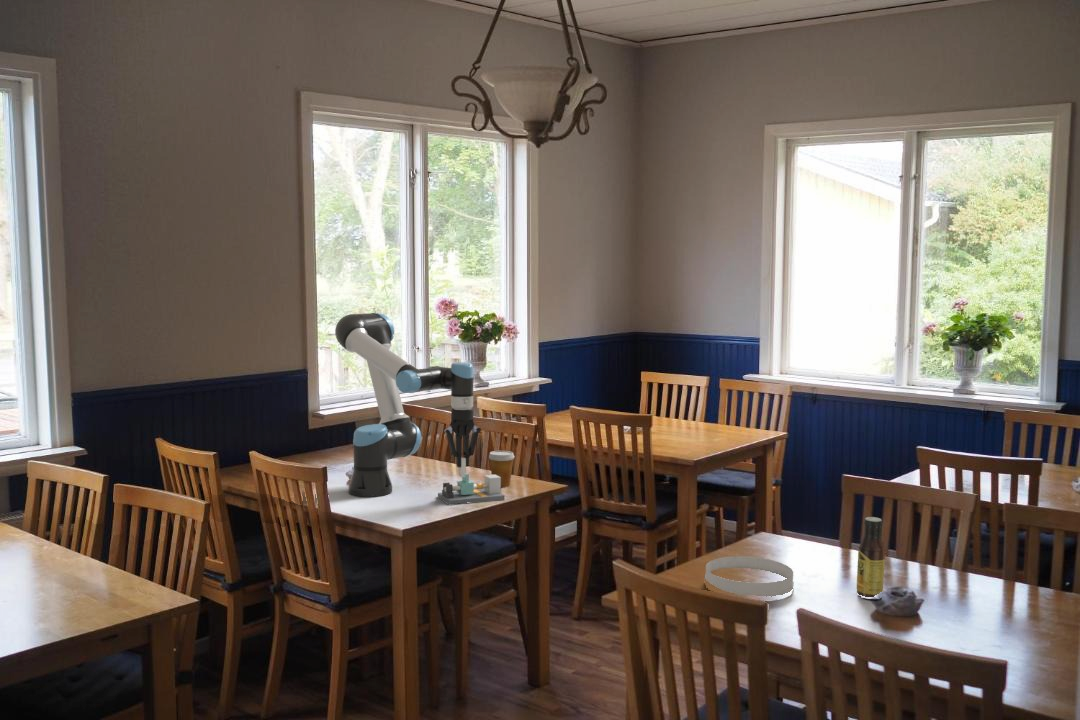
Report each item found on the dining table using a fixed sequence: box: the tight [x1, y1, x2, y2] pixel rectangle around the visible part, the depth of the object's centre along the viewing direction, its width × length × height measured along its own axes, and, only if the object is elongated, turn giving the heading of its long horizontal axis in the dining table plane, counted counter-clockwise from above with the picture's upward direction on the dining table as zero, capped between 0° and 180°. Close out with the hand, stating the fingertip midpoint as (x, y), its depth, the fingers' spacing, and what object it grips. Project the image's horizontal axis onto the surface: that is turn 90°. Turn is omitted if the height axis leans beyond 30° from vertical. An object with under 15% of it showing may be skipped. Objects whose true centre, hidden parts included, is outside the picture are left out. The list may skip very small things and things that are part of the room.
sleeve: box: [456, 472, 475, 495], centre depth 339 cm, size 4×4×7 cm
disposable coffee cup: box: [488, 450, 515, 488], centre depth 361 cm, size 10×10×12 cm
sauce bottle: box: [856, 516, 886, 597], centre depth 242 cm, size 6×6×20 cm
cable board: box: [437, 474, 505, 505], centre depth 341 cm, size 12×20×7 cm, turn 115°
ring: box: [704, 555, 795, 597], centre depth 250 cm, size 22×22×5 cm
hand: (462, 476), depth 338 cm, fingers closed
